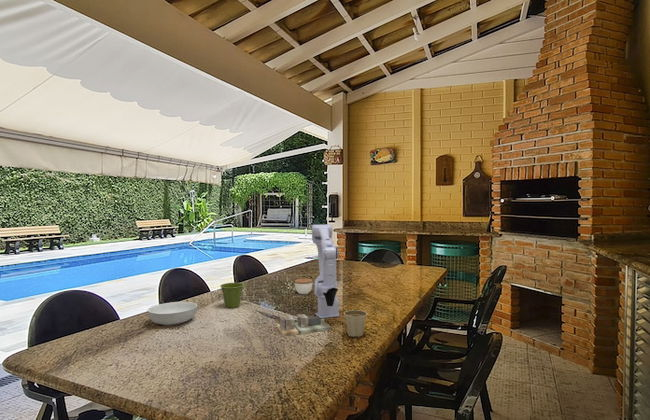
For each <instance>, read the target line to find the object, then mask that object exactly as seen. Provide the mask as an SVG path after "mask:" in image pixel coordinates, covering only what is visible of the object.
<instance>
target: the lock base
mask: <svg viewBox="0 0 650 420" xmlns="http://www.w3.org/2000/svg"><path fill="white" fill-rule="evenodd" d="M308 317H309V316H307V315H306V314H305V313H304V314H303V313H302V314H301V313H299V314H297V319H298V318H299V319H300V320H301V327H300V326H299V325H298V321H295V318H293V316H292V315H283V316H279V323H277V324H276V329H277V330H278V331H279V333H280V334H281V335H282V336H283V337H289V336H295V335H303V334H304V335H305V334H310V333H317V332H325V331H331V330H332V326H331V325H330V324H329V323H327V322H326V321H324V320H323V318H321V324H317V325H309V326H308Z"/></svg>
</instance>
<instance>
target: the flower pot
mask: <svg viewBox="0 0 650 420" xmlns="http://www.w3.org/2000/svg"><path fill="white" fill-rule="evenodd" d="M343 315H344V318H345V322H346V331H347V335H348V337H353V338H354V337H362V336H363V335H364V331H365V322H366V319H367V316H368V312H366V311H364V310H358V309H350V310H345V311H344V312H343Z"/></svg>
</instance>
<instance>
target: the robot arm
mask: <svg viewBox="0 0 650 420" xmlns="http://www.w3.org/2000/svg"><path fill="white" fill-rule="evenodd" d="M332 236H333V225H332V224H331V223H329V224H312V225H311V240H312V243H313V244H315V246H316V248H317V259H318V270H319V271H318V272H319V276H317V278H315V280H314V284H313V285H314V291H313V292H314V295H315V296H316V297H317V312H314V314H315V315H316V316H319V317H320V318H321V319H328V318H333V317H340V313H339V311H340V309H339V306H340V305H339V299H338V296H336V294H337V293H338V288H337V287H338V286H339V283H338V282H339V281H337V280H338V279H337V260H338V257H339V251H338V246H336V245H335V244H334V241H333V238H332Z"/></svg>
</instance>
